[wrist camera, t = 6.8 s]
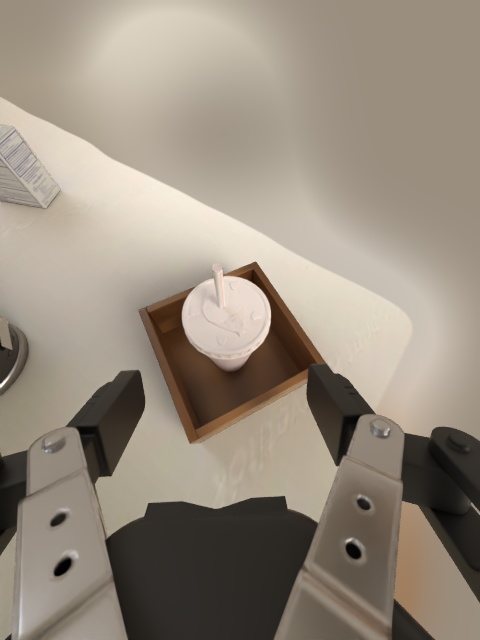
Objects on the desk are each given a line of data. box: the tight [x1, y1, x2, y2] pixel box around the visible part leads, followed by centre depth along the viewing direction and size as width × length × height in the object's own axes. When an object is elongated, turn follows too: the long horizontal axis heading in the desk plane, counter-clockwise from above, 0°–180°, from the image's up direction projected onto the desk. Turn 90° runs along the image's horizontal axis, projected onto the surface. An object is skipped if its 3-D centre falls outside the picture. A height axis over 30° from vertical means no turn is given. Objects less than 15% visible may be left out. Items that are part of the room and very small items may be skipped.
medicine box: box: [0, 124, 60, 208], centre depth 33 cm, size 8×4×9 cm, turn 77°
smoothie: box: [182, 264, 271, 372], centre depth 19 cm, size 6×6×14 cm
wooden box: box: [139, 262, 326, 444], centre depth 24 cm, size 12×12×5 cm
